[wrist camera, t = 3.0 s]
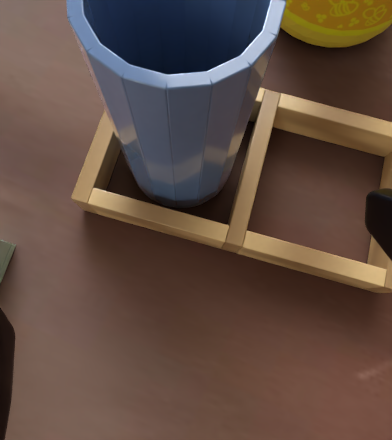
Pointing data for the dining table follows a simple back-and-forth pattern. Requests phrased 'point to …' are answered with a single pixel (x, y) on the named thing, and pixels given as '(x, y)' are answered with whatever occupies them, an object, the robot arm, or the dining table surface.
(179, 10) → the tumbler
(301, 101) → the wooden rectangular frame
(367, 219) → the robot arm
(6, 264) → the basin
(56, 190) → the dining table surface
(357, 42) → the mug
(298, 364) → the dining table surface
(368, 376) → the dining table surface
